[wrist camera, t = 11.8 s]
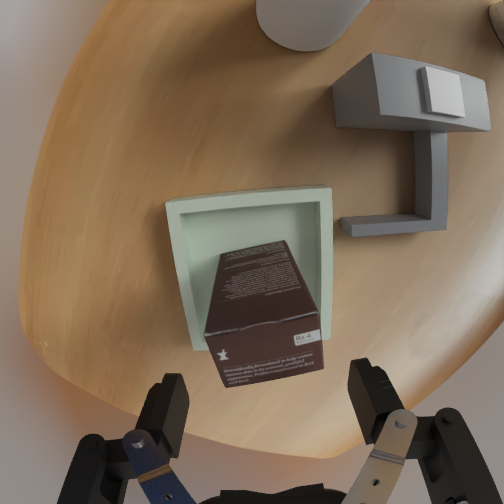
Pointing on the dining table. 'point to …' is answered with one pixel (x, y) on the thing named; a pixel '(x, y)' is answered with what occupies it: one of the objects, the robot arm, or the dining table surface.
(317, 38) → the pill bottle
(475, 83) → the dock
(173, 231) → the tray
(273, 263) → the box
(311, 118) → the dining table surface
